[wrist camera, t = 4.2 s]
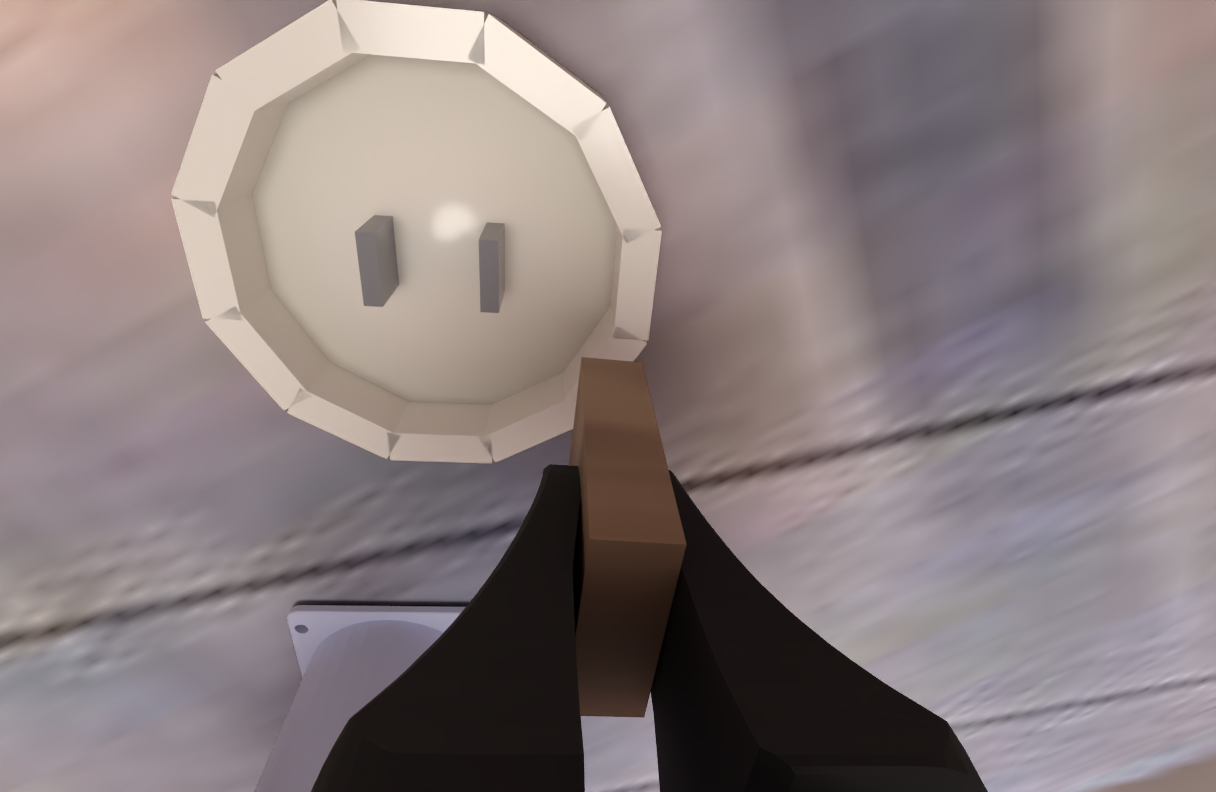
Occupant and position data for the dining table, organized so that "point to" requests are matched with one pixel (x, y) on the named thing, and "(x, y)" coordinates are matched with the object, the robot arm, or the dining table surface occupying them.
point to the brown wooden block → (621, 539)
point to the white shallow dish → (416, 229)
